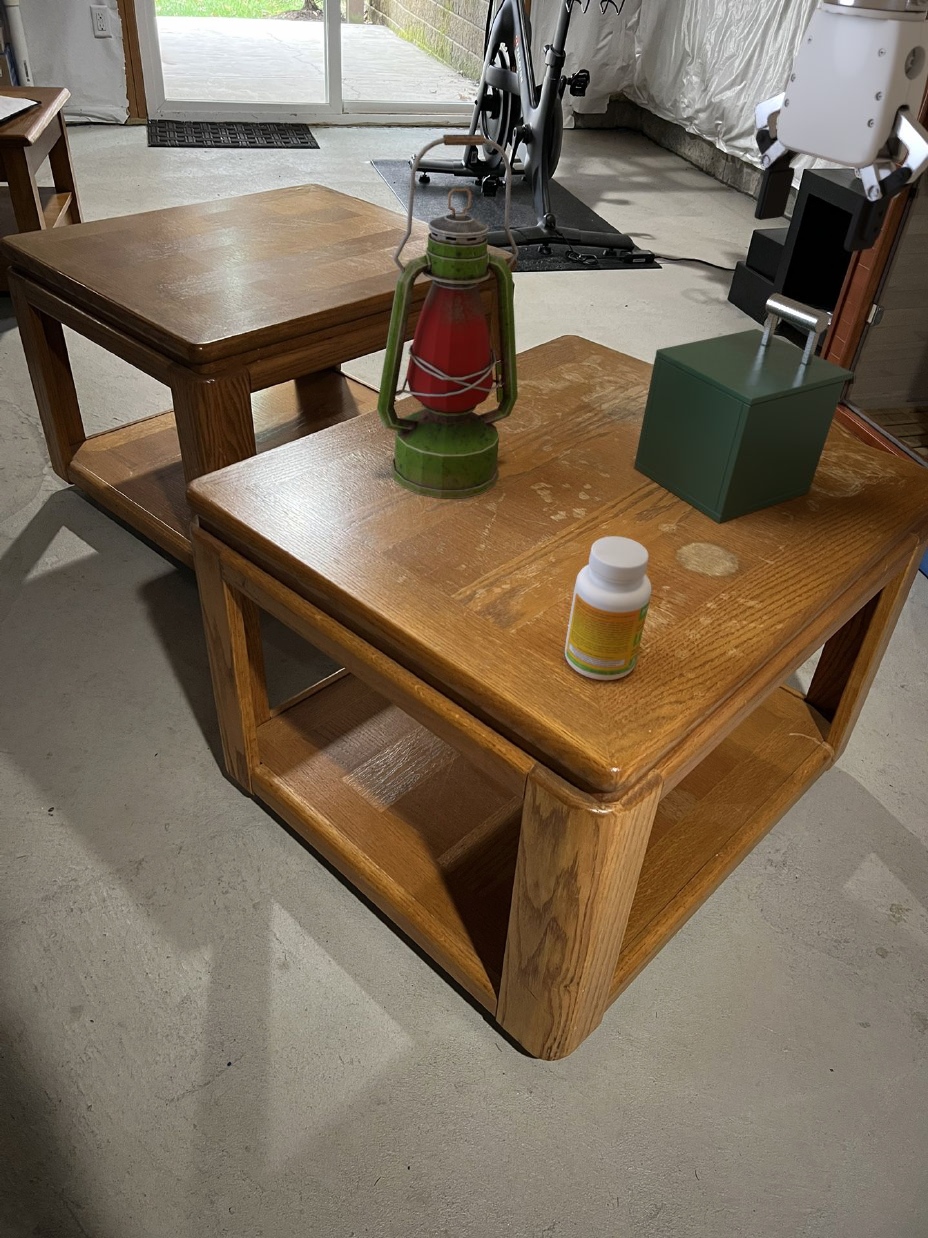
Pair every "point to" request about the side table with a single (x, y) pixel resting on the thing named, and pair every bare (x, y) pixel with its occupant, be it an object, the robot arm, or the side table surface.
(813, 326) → the bin lid
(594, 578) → the supplement bottle
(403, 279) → the lantern
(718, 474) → the bin
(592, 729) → the side table surface
